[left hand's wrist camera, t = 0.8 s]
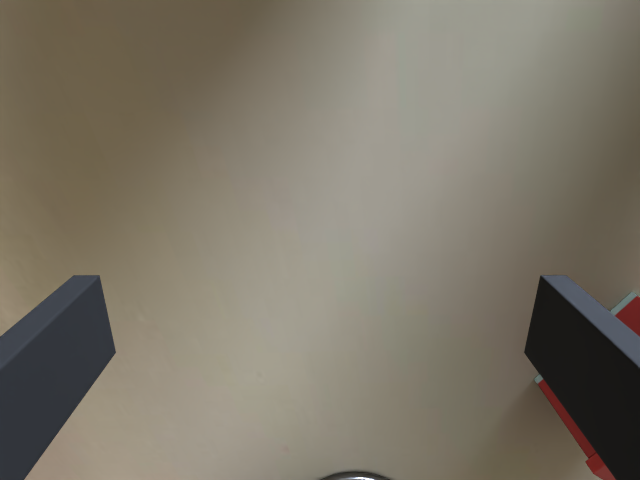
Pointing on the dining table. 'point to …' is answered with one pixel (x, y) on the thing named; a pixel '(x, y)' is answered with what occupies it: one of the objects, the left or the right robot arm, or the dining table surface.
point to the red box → (630, 312)
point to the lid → (599, 468)
